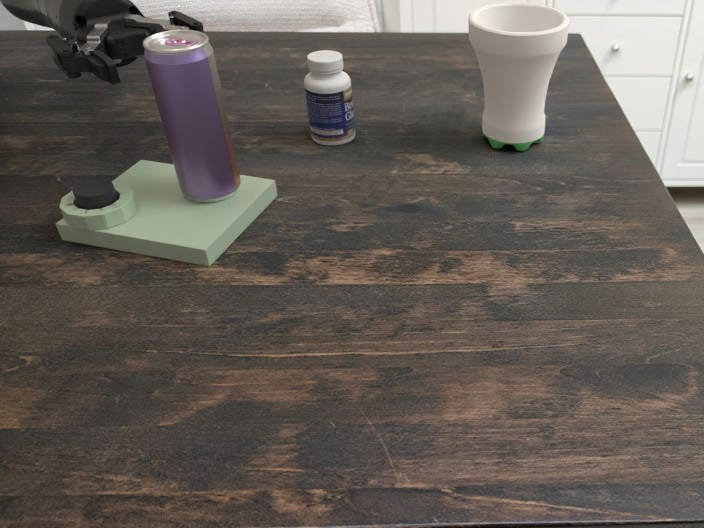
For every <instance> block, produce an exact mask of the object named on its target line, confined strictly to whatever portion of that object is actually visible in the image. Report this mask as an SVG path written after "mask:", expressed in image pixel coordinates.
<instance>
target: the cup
mask: <svg viewBox="0 0 704 528" xmlns="http://www.w3.org/2000/svg"><path fill="white" fill-rule="evenodd" d="M467 21H468V40H469V43H470V45H471V47H472V49H473V50H474V53H475V56H476V59H477V63H478V66H479V71H480V75H481V79H482V86H483V87H482V88H483V96H484V97H483V100H484V101H483V102H484V103H483V105H484V110H483V112H482V118H481V131H482V135H483V137H484V138H486V139H487V140H488V141H489V144H490V145H491V148H493V149H502V148H504V146H505V145H511V146H513V147H514V149H515V150H516V151H519V152H525V151H527V150H528V149H529V148H530V146H531V145H532V144H539V143H542V142H543V141H544V138H545V132H546V131H545V130H546V114H545V107H546V106H545V105H546V99H547V93H548V88H549V85H550V84H549V83H550V80H551V78H552V75H553V72H554V70H555V66H556V63H557V62H558V59H559V56H560V54H561V52H562V51H563V49H564V48H565V47H566V45H567V43H568V38H569V28H570V19H569V17H568V16H567V14H566V13H565V12H564V11H562V10H559V9H557V8H554V7H552V6H548V5H545V4H544V5H543V4H539V3H538V4H537V3H531V2H519V1H518V2H517V1H516V2H515V1H513V2H499V3H491V4H487V5H482V6H480V7H478V8H475V9H473V11H472V12H471V13H470V14H469V15H468V20H467Z"/></svg>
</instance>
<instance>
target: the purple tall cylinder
mask: <svg viewBox="0 0 704 528" xmlns="http://www.w3.org/2000/svg"><path fill="white" fill-rule="evenodd" d="M209 40H210V38H209V36H208V35H207V34H206V33H205V32H204V33H202V32H199V31H194V30H170V31H164V32H160V33H156V34H153V35H151V36H149V37H147V38H146V39H145V40H144V41H143V47H144V58H143V59H144V62H145V66H146V69H147V73H148V77H149V80H150V83H151V87H152V92H153V94H154V98H155V99H154V100H155V102H156V104H157V109H158V114H159V116H160V120H161V124H162V127H163V131H164V135H165V138H166V142H167V145H168V150H169V152H170V158H171V160H172V164H173V165H174V168H175V171H176V175H177V179H178V182H179V186H180V189H181V191H182V193H183V194H184V195H185V196H186V197H188V198H189V199H191V200H193V201H195V202H201V203H212V202H218V201H222V200H225V199H228V198H230V197H231V196H233V195H234V194H235V193H236V192H237V191H238V189H239V186H240V184H241V179H240V175H241V174H240V170H239V164H238V160H237V156H236V152H235V151H236V150H235V146H234V141H233V136H232V131H231V127H230V123H229V117H228V114H227V109H226V104H225V99H224V94H223V90H222V85H221V81H220V76H219V71H218V66H217V62H216V58H215V53H214V49H213V47H212V45H211V43H210V41H209Z"/></svg>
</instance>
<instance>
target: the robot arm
mask: <svg viewBox="0 0 704 528" xmlns="http://www.w3.org/2000/svg"><path fill="white" fill-rule="evenodd" d="M0 3H1V5H2V6H3V7H4V9H6V11H8V13H10V14H11V15H12V16H14V17H16V18H17V19H19V20H21V21H23V22H27V23H29V24H33V25H36V26H40V27H44V28H49V29H53V30H54V32H56V33H58V34H53V33H52V34H48V35H46V36H45V37H44V38H45V40H46V43H47V46H48V49H49V52H50V55H51V57H52V60H53V63H54V64H55V66H56V67H58V68H59V70H61V71H62V73H63V74H64V75H65V76H66V78H68V79H72V80H76V79H79V78H81V77H82V73H88V74H89V76H90V77H96V78H97V79H98V80H99V81H102V82H108V83H109V84H111V85H112V86H116V85H118V84H121V79H120V75H119V71H118V69H117V68H123V67H126V66H128V65H130V64H132V63H134V62H135V61H136V60H138V58H141V59H144V47H143V41H144V40H145V39H146V38H147V37H149V36H151V35H153V34H156V33H160V32H164V31H170V30H194V31H199V32H202V33H204V34H205V30H204V23H203V22H202V21H200V20H198V19H196V18H194V17H191V16H189V15H187V14H185V13H183V12H182V11H179V10H171V11H168V12H167V15H168V19H160V18H152V17H146V16H145V15H144V14H143V13H142V11H141V10H140V9H139V8H138V6H137V5H136V4H135V3H134V2H133V1H131V0H0Z"/></svg>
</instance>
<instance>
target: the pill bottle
mask: <svg viewBox="0 0 704 528" xmlns="http://www.w3.org/2000/svg"><path fill="white" fill-rule="evenodd" d="M306 62H307V69H308V71H309V72H308V73H307V74H306V75H305V77H304V79H303V86H304V87H303V88H304V92H305V99H306V100H305V101H306V107H307V115H308V124H309V130H310V137H311V139H312V140H313V142H315V143H317V144H318V145H321V146H327V147H333V146H334V147H335V146H342V145H345V144H346V145H347V144H348V143H350V142H352V141H353V140H354V139H355V137H356V122H355V110H354V99H353V89H352V88H353V87H352V80H351V77H350V76H349V74H348V73H347V72H346V71H343V70H344V60H343V54H342V53H341V52H339V51H336V50H329V49H323V50H316V51H312V52H310V53H308V54H307V56H306Z"/></svg>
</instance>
